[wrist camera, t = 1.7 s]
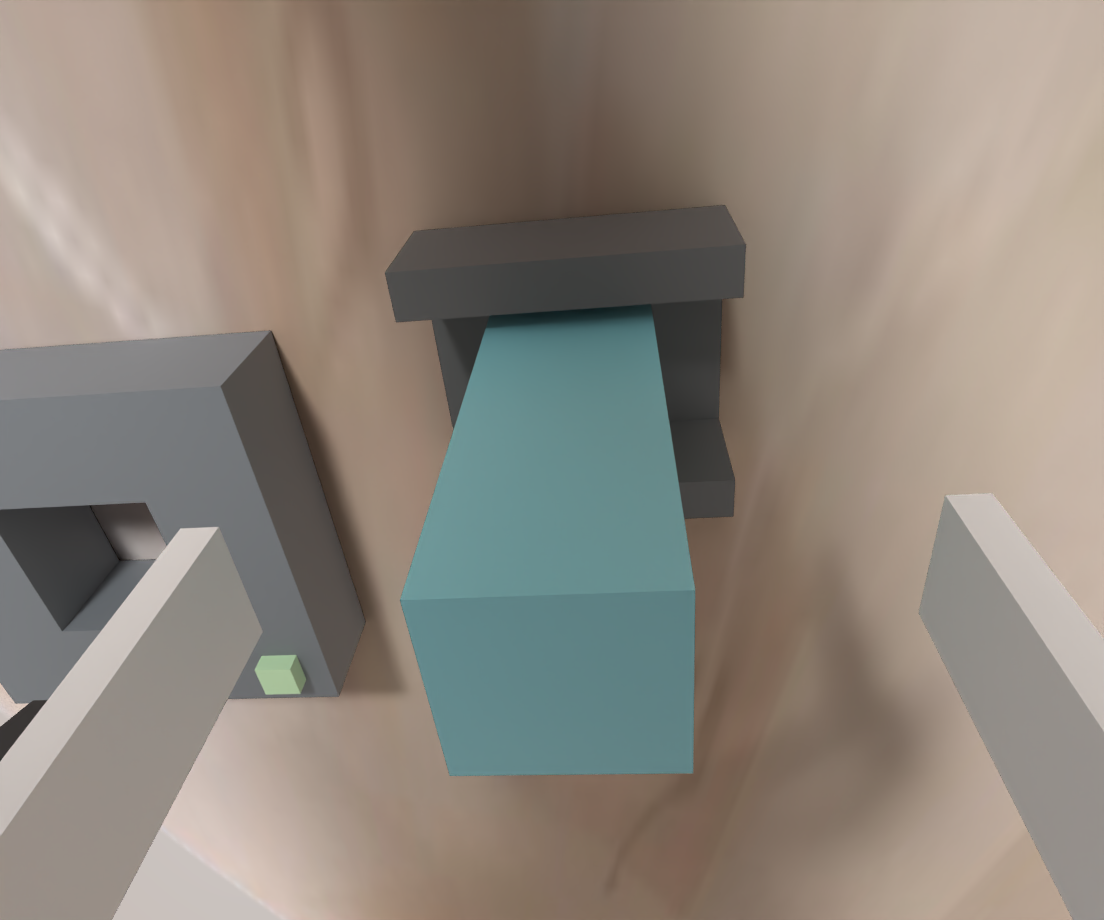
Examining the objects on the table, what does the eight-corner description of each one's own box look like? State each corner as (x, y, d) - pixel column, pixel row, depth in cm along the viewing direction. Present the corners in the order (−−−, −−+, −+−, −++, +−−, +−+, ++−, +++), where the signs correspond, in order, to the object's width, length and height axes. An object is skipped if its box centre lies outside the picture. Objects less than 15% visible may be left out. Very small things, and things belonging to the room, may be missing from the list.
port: (-100, 357, 23) (-221, 424, 20) (270, 330, 22) (210, 397, 19) (73, 631, 30) (4, 717, 26) (365, 621, 28) (333, 711, 25)
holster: (418, 224, 20) (384, 272, 17) (721, 199, 19) (745, 244, 16) (463, 455, 24) (442, 529, 21) (715, 442, 23) (733, 516, 20)
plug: (498, 287, 20) (400, 600, 10) (646, 276, 20) (695, 590, 10) (516, 415, 22) (449, 776, 12) (650, 407, 22) (693, 773, 12)
